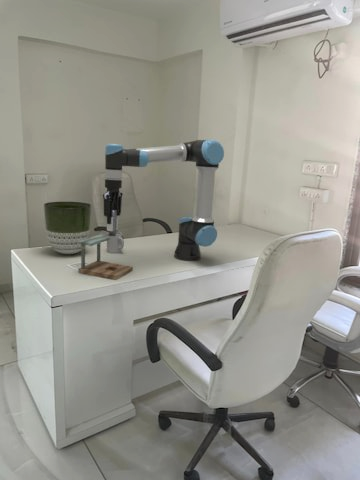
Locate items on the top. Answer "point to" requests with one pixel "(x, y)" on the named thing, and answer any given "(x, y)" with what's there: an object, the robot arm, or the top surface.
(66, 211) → the planter
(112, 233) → the peg
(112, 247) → the mug
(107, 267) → the peg stand
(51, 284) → the top surface
